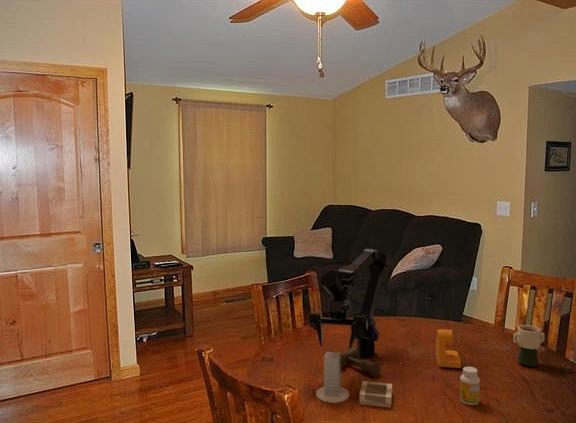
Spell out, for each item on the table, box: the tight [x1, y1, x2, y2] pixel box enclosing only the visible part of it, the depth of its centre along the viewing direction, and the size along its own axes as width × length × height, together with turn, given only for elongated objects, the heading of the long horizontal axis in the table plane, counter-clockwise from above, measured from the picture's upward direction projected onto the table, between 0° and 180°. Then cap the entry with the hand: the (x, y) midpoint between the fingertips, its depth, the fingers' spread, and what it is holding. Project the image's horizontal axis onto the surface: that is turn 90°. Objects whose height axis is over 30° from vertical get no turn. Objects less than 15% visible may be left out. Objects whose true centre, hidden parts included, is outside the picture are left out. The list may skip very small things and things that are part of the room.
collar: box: [359, 380, 393, 408], centre depth 142 cm, size 9×9×3 cm
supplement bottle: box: [459, 366, 481, 406], centre depth 140 cm, size 5×5×10 cm
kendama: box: [332, 346, 381, 378], centre depth 165 cm, size 6×10×20 cm
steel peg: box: [323, 351, 342, 397], centre depth 145 cm, size 4×4×12 cm
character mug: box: [512, 324, 545, 368], centre depth 165 cm, size 11×7×13 cm, turn 92°
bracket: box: [435, 328, 462, 369], centre depth 167 cm, size 11×7×12 cm, turn 169°
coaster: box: [315, 386, 350, 404], centre depth 145 cm, size 10×10×1 cm
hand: (335, 346), depth 149 cm, fingers open, 9 cm apart
